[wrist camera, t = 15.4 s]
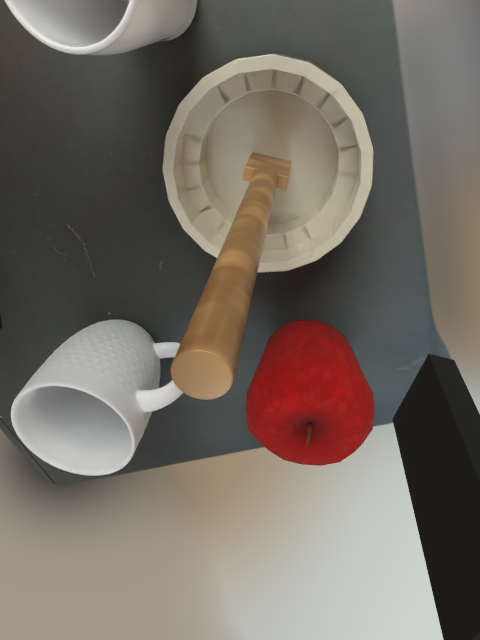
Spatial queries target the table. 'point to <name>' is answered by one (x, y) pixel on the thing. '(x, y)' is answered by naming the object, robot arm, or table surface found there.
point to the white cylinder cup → (103, 23)
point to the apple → (309, 396)
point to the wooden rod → (229, 288)
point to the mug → (94, 398)
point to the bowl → (272, 140)
